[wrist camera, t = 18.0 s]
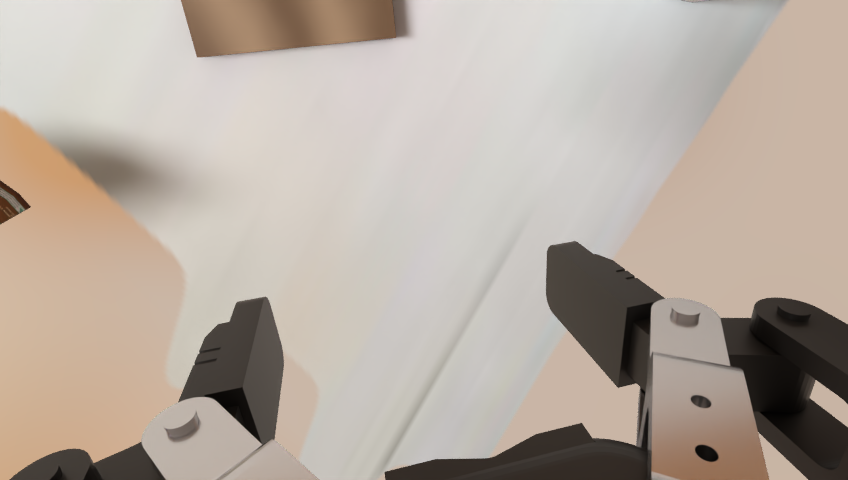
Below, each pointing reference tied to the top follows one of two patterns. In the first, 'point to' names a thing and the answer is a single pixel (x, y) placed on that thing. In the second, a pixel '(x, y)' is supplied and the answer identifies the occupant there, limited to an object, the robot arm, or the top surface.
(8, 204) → the food container
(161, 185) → the top surface
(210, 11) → the walnut board
